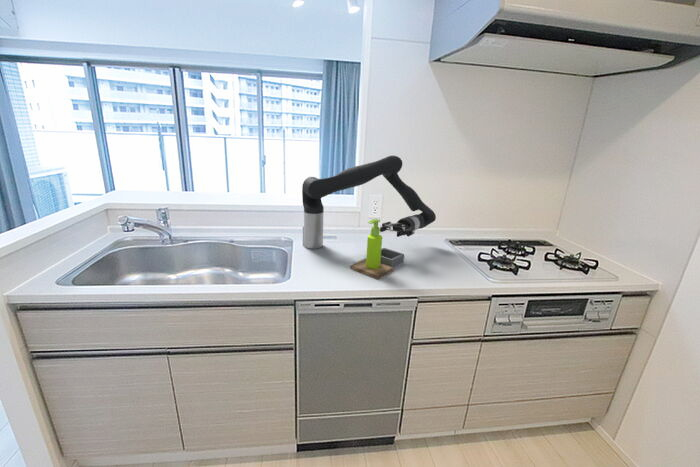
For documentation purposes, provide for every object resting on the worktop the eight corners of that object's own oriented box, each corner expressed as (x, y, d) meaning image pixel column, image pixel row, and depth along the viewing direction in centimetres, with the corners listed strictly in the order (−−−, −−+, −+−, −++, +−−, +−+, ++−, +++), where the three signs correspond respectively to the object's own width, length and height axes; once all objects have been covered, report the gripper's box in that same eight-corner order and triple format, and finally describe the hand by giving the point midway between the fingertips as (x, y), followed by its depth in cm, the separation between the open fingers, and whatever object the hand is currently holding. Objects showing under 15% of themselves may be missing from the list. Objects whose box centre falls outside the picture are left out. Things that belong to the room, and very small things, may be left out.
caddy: (370, 261, 140) (370, 253, 139) (383, 255, 147) (383, 247, 146) (391, 269, 133) (391, 260, 132) (403, 262, 141) (404, 254, 140)
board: (350, 268, 132) (350, 265, 132) (366, 261, 140) (366, 258, 140) (377, 279, 124) (377, 275, 123) (392, 270, 132) (393, 267, 131)
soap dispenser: (361, 266, 131) (364, 219, 125) (371, 262, 136) (375, 217, 130) (372, 270, 127) (375, 223, 121) (382, 266, 132) (386, 220, 126)
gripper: (396, 214, 151) (376, 220, 139) (423, 220, 142) (404, 227, 130) (394, 229, 153) (374, 236, 141) (421, 236, 145) (402, 244, 133)
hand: (389, 232), depth 136 cm, fingers open, 8 cm apart
